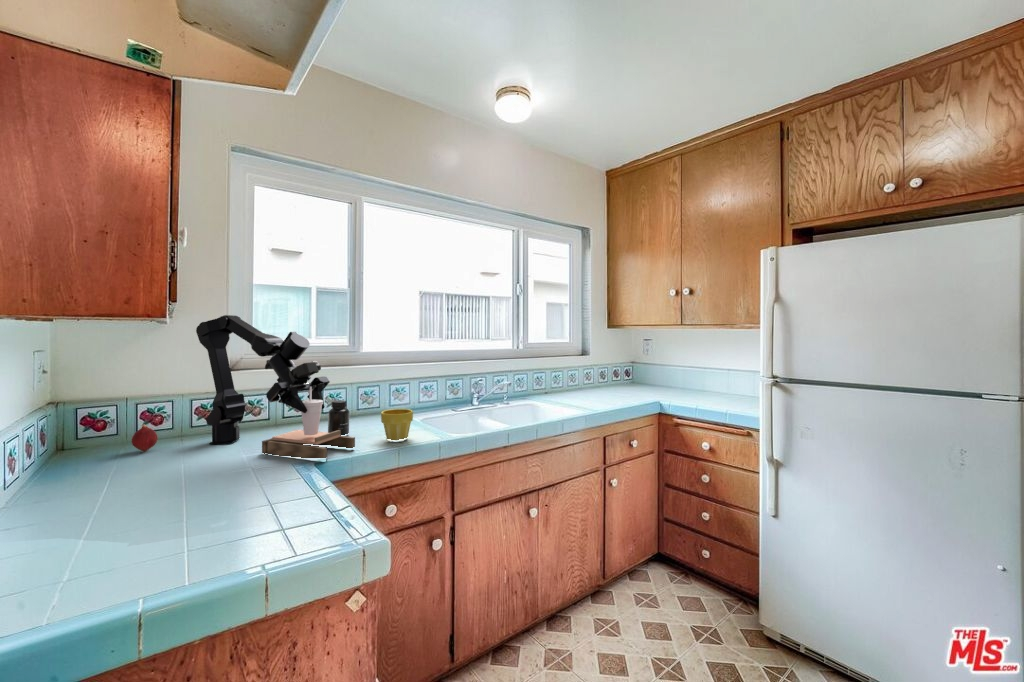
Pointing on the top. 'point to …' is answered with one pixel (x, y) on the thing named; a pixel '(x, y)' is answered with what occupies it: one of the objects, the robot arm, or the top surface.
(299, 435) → the trapdoor
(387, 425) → the plant pot
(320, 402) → the smoothie
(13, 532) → the top surface
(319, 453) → the frame
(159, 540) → the top surface
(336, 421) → the supplement bottle
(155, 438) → the onion
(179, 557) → the top surface
